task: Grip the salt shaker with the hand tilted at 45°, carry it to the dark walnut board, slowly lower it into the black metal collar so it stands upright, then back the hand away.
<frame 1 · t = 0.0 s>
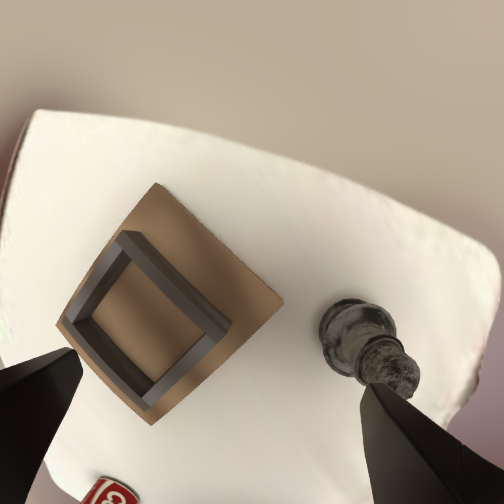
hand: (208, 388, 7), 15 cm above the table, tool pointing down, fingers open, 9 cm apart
soda can: (119, 489, 25), on the table
collar holder: (152, 316, 23), on the table
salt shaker: (348, 328, 22), on the table
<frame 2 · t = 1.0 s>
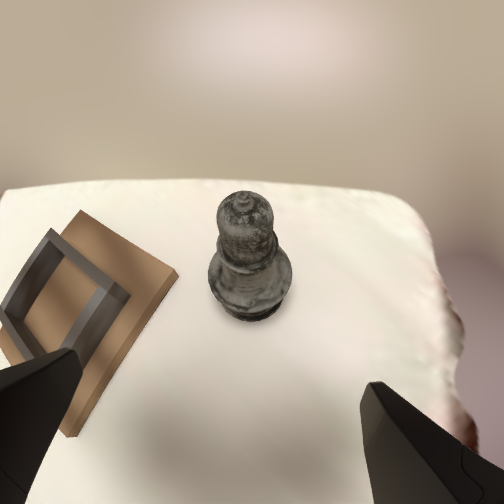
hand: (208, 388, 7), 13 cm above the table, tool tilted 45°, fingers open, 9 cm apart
collar holder: (72, 316, 21), on the table
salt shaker: (251, 290, 23), on the table
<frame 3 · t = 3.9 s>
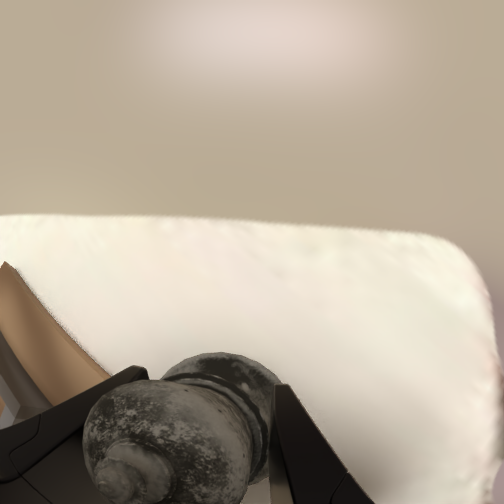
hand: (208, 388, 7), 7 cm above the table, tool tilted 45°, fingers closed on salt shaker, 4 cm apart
collar holder: (5, 407, 11), on the table
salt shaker: (229, 416, 12), on the table, touching gripper
when the fingers open (9 cm above the table, at t = 7.8 s): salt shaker drops 1 cm, resting on collar holder.
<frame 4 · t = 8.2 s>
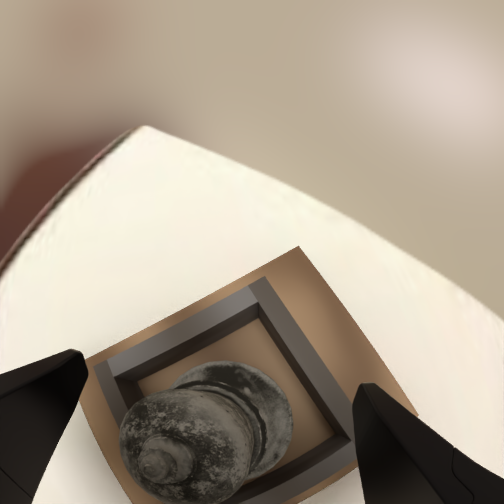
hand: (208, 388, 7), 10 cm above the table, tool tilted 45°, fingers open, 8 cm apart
collar holder: (234, 412, 15), on the table
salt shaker: (233, 417, 13), point 1 cm above the table, touching collar holder
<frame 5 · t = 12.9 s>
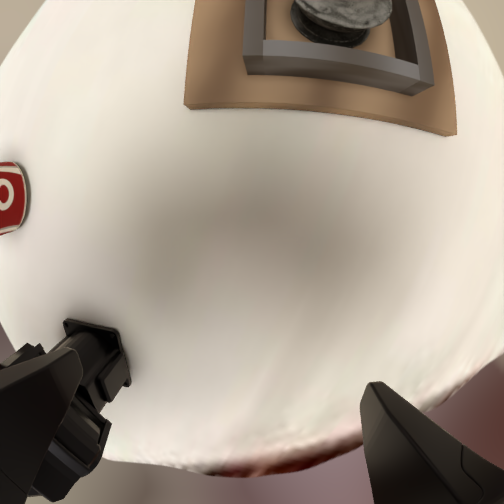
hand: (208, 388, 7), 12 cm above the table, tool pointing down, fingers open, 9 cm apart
soda can: (14, 195, 19), on the table
collar holder: (328, 25, 14), on the table
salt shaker: (330, 19, 12), point 1 cm above the table, touching collar holder
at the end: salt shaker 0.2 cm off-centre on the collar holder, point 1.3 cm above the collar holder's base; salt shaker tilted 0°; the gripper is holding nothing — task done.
